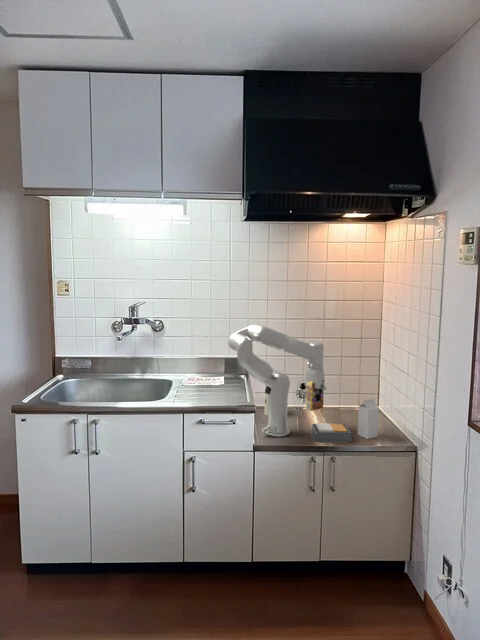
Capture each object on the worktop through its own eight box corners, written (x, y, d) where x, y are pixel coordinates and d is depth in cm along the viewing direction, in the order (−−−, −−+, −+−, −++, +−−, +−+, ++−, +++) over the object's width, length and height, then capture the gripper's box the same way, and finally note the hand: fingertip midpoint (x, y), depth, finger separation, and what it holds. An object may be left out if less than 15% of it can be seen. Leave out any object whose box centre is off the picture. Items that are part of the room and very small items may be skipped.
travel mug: (278, 413, 281) (279, 383, 278) (278, 417, 273) (278, 386, 271) (264, 412, 281) (265, 382, 279) (264, 416, 273) (264, 385, 271)
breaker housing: (314, 441, 237) (314, 432, 236) (310, 432, 250) (310, 423, 249) (352, 441, 237) (353, 433, 237) (346, 432, 250) (346, 424, 250)
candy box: (311, 411, 251) (311, 382, 250) (305, 409, 255) (306, 381, 253) (323, 408, 256) (324, 380, 255) (318, 406, 260) (318, 379, 258)
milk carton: (377, 437, 244) (379, 400, 242) (367, 439, 241) (369, 402, 239) (367, 432, 250) (369, 397, 248) (357, 434, 247) (358, 398, 245)
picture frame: (319, 432, 238) (319, 429, 238) (315, 425, 248) (315, 422, 248) (347, 433, 238) (347, 430, 238) (342, 427, 248) (342, 424, 248)
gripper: (298, 364, 257) (297, 397, 259) (323, 369, 244) (322, 404, 246) (308, 362, 262) (307, 395, 264) (333, 367, 249) (331, 402, 251)
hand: (314, 399), depth 255 cm, fingers closed on candy box, 4 cm apart
